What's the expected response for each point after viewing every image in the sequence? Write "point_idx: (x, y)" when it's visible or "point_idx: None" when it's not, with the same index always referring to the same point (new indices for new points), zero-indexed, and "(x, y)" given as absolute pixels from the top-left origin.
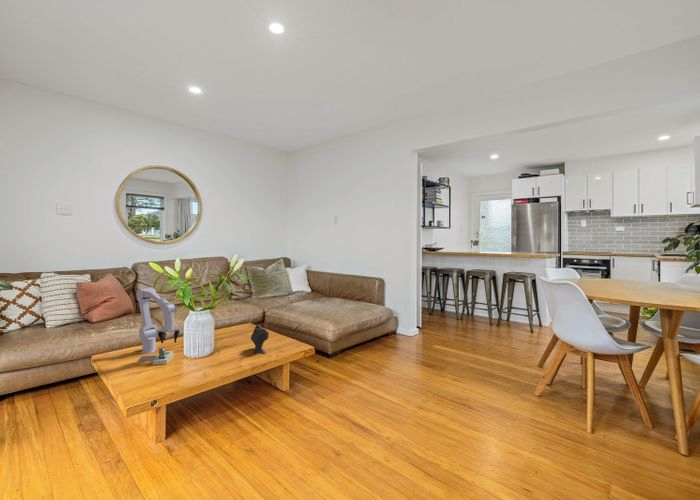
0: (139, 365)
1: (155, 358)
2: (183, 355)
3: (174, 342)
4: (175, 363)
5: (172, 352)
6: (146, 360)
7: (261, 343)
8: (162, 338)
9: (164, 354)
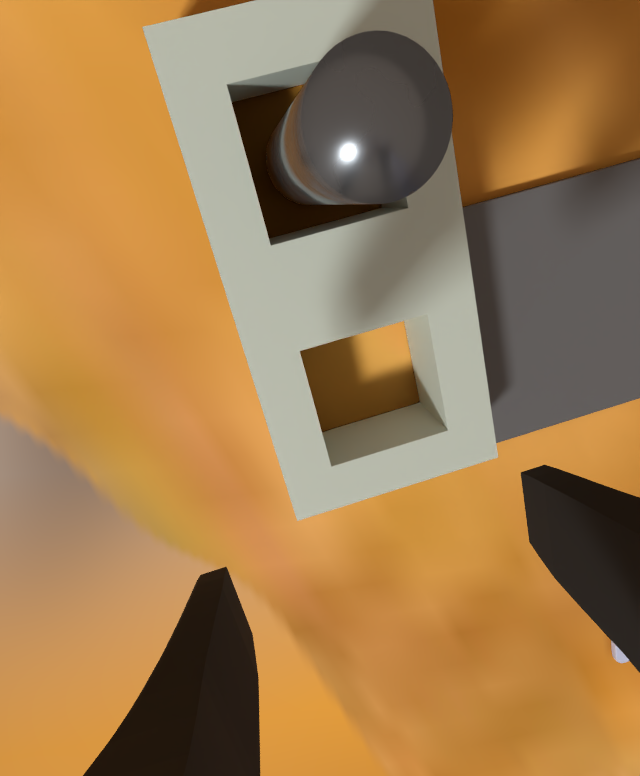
0: (612, 6)
1: None
2: (124, 502)
3: (219, 571)
4: (21, 125)
5: (282, 470)
6: (583, 215)
7: None
8: (623, 575)
9: (401, 426)
